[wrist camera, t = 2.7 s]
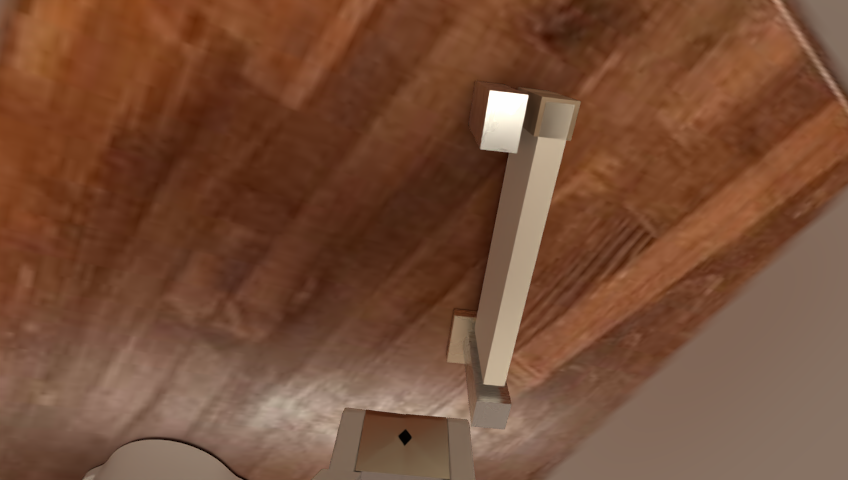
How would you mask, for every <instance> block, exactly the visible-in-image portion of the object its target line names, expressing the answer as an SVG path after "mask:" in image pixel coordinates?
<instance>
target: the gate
mask: <svg viewBox="0 0 848 480" xmlns="http://www.w3.org/2000/svg"><path fill="white" fill-rule="evenodd" d="M518 91H521V92H523V93H525V94H527V95H529V96H528V101H527V106H526V111H525V116H524V121H523V126H522V131H521V135H520V140H519V145H518V150H517V153H509V155H508V161H507V166H506V171H505V176H504V181H503V186H502V191H501V196H500V201H499V206H498V211H497V216H496V221H495V226H494V231H493V237H492V242H491V247H490V252H489V257H488V262H487V267H486V272H485V277H484V282H483V287H482V292H481V297H480V302H479V308H478V313H477V318H476V323H475V335H476V341H477V348H478V354H479V361H480V367H481V374H482V380H483V384H485V385H495V386H505V382H506V378H507V374H508V370H509V366H510V362H511V358H512V354H513V350H514V346H515V342H516V338H517V334H518V330H519V326H520V322H521V318H522V314H523V310H524V306H525V302H526V298H527V294H528V290H529V286H530V282H531V278H532V274H533V270H534V266H535V262H536V258H537V254H538V250H539V246H540V242H541V238H542V234H543V230H544V226H545V222H546V218H547V214H548V210H549V206H550V203H551V199H552V195H553V191H554V187H555V183H556V179H557V175H558V171H559V167H560V163H561V159H562V155H563V151H564V147H565V143H566V140H570V141H571V138H572V134H573V130H574V126H575V122H576V118H577V115H578V111H579V107H580V103H581V101H578V100H575V99H572V98H569V97H566V96H563V95H560V94H557V93H554V92H551V91H547V90H539V89H530V88H522V87H518Z"/></svg>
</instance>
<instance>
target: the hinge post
mask: <svg viewBox="0 0 848 480" xmlns="http://www.w3.org/2000/svg"><path fill="white" fill-rule="evenodd" d="M477 313H478V311H469V310H459V309H454V313H453V319H452V325H451V331H450V336H449V342H448V348H447V354H446V356H447V362H452V363H462V364H465V372H466V381H467V391H468V400H469V410H470V419H471V426H474V427H484V428H494V429H505V427H506V423H507V419H508V415H509V412H510V408H511V400H510V396H509V391H508V387H507V383H506V382H505V386H495V385H485V384H483V380H482V374H481V367H480V361H479V354H478V348H477V341H476V335H475V323H476V318H477Z"/></svg>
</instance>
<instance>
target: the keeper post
mask: <svg viewBox="0 0 848 480" xmlns="http://www.w3.org/2000/svg"><path fill="white" fill-rule="evenodd" d="M528 96H529V95H527V94H525V93H523V92H521V91H518V90H516V89H514V88H512V87H509V86H507V85H505V84H499V83H490V82H482V81H475V84H474V90H473V97H472V103H471V110H470V117H469V123H468V126H469V128H470V130H471V132H472V134H473V136H474V138H475V140H476V142H477V144H478V146H479V148H480V149H483V150H491V151H500V152H509V153H517V150H518V145H519V140H520V135H521V131H522V126H523V121H524V116H525V111H526V106H527V101H528Z"/></svg>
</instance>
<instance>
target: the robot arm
mask: <svg viewBox="0 0 848 480" xmlns="http://www.w3.org/2000/svg"><path fill="white" fill-rule="evenodd" d="M82 480H243V479H241V478H238V477H237V476H235V475H234V474H233V473H232V472H231V471H230V470H229V469H228V468H227V467H226V466H224V465H223V464H222V463H221V462H220V461H218V460H217V459H216V458H214V457H213V456H211V455H209V454H208V453H206V452H204V451H202V450H200V449H197V448H195V447H192V446H189V445H186V444H183V443H179V442H174V441H168V440H142V441H136V442H132V443H129V444H126V445H124V446H122V447H120V448H119V449H117V450H116V451H115V452H114V453H113V454H112V455H111V456H110V458H109V459H108V460H107V462H106V463H105V464H103V465H101V466H99V467H96V468H94V469H91V470H90V471H88V472H87V474H86V475H85V476H84V478H83V479H82ZM311 480H475V473H474V464H473V454H472V445H471V435H470V426H469V422H468V420H466V419H455V418H447V419H446V417H434V416H423V415H411V414H406V415H405V414H397V413H389V412H381V411H373V410H362V409H353V408H345V409H344V411H343V413H342V417H341V421H340V425H339V429H338V433H337V437H336V441H335V445H334V450H333V454H332V458H331V462H330V466H329V469H321V470H320V471H319V472H318V473H317V474H316V475H315V476H314V477H313V478H312V479H311Z"/></svg>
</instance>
